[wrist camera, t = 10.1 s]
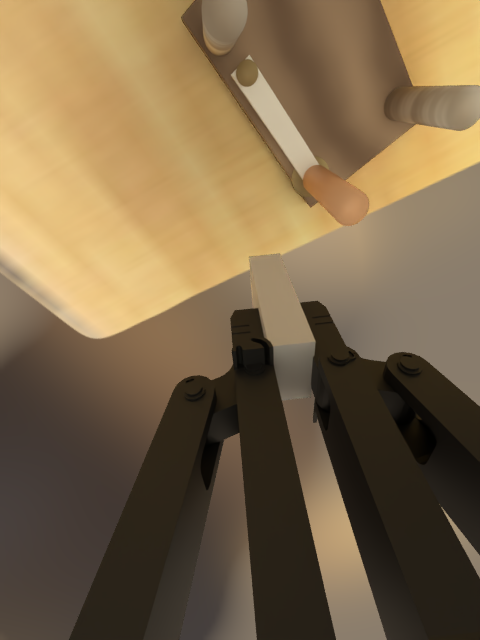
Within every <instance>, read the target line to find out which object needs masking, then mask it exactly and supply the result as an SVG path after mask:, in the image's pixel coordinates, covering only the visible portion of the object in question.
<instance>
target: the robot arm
mask: <svg viewBox="0 0 480 640" xmlns="http://www.w3.org/2000/svg"><path fill="white" fill-rule="evenodd" d="M249 262H250V277H251V292H252V305H253V309H244V310H235V311H234V313H233V315H232V316H231V318H230V319H231V331H232V343H233V348H232V356H233V366H232V368H231V369H230V370H229V371H228V372H227V373H226V374H225V375H223V376H221V377H219V378H216V379H214V380H210V379H208V378H207V377H204V376H200V375H199V376H191V377H188V378H185V379H183V380H182V381H181V382H179V383H178V384H177V386H176V387H175V389H174V391H173V393H172V395H171V398H170V400H169V403H168V405H167V407H166V409H165V412H164V415H163V417H162V419H161V422H160V424H159V427H158V429H157V431H156V434H155V436H154V438H153V440H152V443H151V446H150V448H149V450H148V452H147V455H146V457H145V460H144V462H143V464H142V467H141V469H140V471H139V474H138V476H137V479H136V481H135V483H134V486H133V488H132V491H131V493H130V495H129V498H128V500H127V502H126V505H125V507H124V510H123V512H122V515H121V517H120V519H119V522H118V524H117V526H116V529H115V532H114V533H113V536H112V538H111V541H110V543H109V545H108V548H107V550H106V553H105V555H104V557H103V560H102V562H101V564H100V567H99V569H98V572H97V574H96V577H95V579H94V581H93V584H92V586H91V588H90V591H89V593H88V595H87V598H86V600H85V603H84V605H83V607H82V610H81V612H80V615H79V617H78V620H77V622H76V625H75V627H74V629H73V631H72V634H71V636H70V639H69V640H179V638H180V634H181V629H182V625H183V620H184V616H185V611H186V606H187V602H188V598H189V594H190V589H191V584H192V580H193V576H194V571H195V567H196V562H197V558H198V553H199V549H200V545H201V540H202V536H203V531H204V527H205V522H206V518H207V513H208V509H209V504H210V500H211V495H212V491H213V486H214V482H215V478H216V473H217V469H218V464H219V460H220V455H221V451H222V446H223V442H224V439H226V438H228V437H230V436H233V435H235V434H237V433H240V443H241V444H240V445H241V457H242V468H243V480H244V492H245V504H246V516H247V527H248V539H249V550H250V563H251V574H252V587H253V597H254V609H255V622H256V633H257V640H336V637H335V633H334V629H333V624H332V620H331V615H330V611H329V607H328V602H327V598H326V593H325V589H324V584H323V580H322V576H321V571H320V567H319V562H318V558H317V554H316V549H315V545H314V540H313V536H312V532H311V527H310V523H309V518H308V514H307V510H306V505H305V501H304V497H303V492H302V488H301V483H300V479H299V474H298V470H297V466H296V461H295V457H294V452H293V448H292V444H291V439H290V435H289V430H288V426H287V421H286V417H285V413H284V408H283V404H282V400H290V399H298V398H308V397H311V389H312V391H313V394H314V397H315V403H314V413H313V422H314V423H315V422H316V421H317V419H318V421H319V425H320V428H321V431H322V434H323V438H324V441H325V444H326V447H327V450H328V454H329V456H330V460H331V463H332V466H333V469H334V473H335V476H336V479H337V482H338V485H339V489H340V491H341V495H342V498H343V501H344V504H345V508H346V511H347V514H348V517H349V520H350V523H351V527H352V530H353V533H354V536H355V539H356V542H357V546H358V549H359V552H360V555H361V558H362V562H363V564H364V568H365V571H366V574H367V577H368V581H369V584H370V587H371V590H372V593H373V597H374V600H375V603H376V606H377V609H378V612H379V616H380V619H381V622H382V625H383V628H384V632H385V635H386V638H387V640H480V578H479V576H478V575H477V573H476V571H475V569H474V567H473V565H472V563H471V562H470V560H469V558H468V556H467V554H466V552H465V550H464V549H463V547H462V545H461V543H460V541H459V539H458V538H457V536H456V534H455V532H454V530H453V528H452V526H451V525H450V523H449V521H448V519H447V517H446V515H445V514H444V512H443V510H442V508H443V509H444V510H445V511H446V513H447V514H448V515H449V517H450V518H451V519H452V521H453V522H454V523H455V524H456V525H457V527H458V528H459V529H460V531H461V532H462V533H463V534H464V536H465V537H466V538H467V539H468V541H469V542H470V543H471V545H472V546H473V547H474V548H475V550H476V551H477V552H478V554H479V555H480V406H478V405H477V404H476V403H475V402H474V401H472V400H471V399H470V398H469V397H468V396H467V395H466V394H465V393H463V392H462V391H461V390H460V389H459V388H458V387H456V386H455V385H454V384H453V383H452V382H451V381H449V380H448V379H447V378H446V377H445V376H444V375H442V374H441V373H440V372H439V371H438V370H437V369H435V368H434V367H433V366H432V365H431V364H430V363H428V362H427V361H426V360H424V359H423V358H421V357H420V356H417V355H415V354H412V353H406V352H399V353H394V354H392V355H390V356H389V357H388V359H387V361H386V362H381V361H374V360H368V359H363V358H361V357H360V356H359V355H358V354H357V353H356V352H355V351H354V350H353V349H351V348H349V347H347V346H346V345H345V343H344V341H343V339H342V338H341V335H340V334H339V331H338V329H337V328H336V326H335V324H334V323H333V320H332V318H331V317H330V314H329V312H328V310H327V308H326V307H325V306H324V305H322V304H321V303H320V302H318V301H311V302H302V303H300V302H299V300H298V297H297V295H296V292H295V290H294V287H293V285H292V282H291V280H290V277H289V275H288V273H287V270H286V267H285V265H284V263H283V260H282V258H281V255H280V254H271V255H261V256H251V257H249ZM440 505H441V506H440ZM441 507H442V508H441Z"/></svg>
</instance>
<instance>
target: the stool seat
mask: <svg viewBox="0 0 480 640" xmlns="http://www.w3.org/2000/svg"><path fill="white" fill-rule="evenodd" d="M181 18H182V21H183V23H184V24H185V26H186V27H187V29H188V30H189V32H190V33H191V35H192V36H193V38H194V39H195V41H196V42H197V43H198V45H199V46H200V48H201V49H202V51H203V52H204V54H205V55H206V57H207V58H208V60H209V61H210V62H211V64H212V65H213V67H214V68H215V70H216V71H217V73H218V74H219V76H220V77H221V79H222V80H223V81H224V83H225V84H226V86H227V87H228V89H229V90H230V92H231V93H232V95H233V96H234V98H235V99H236V100H237V102H238V103H239V105H240V106H241V108H242V109H243V111H244V112H245V114H246V115H247V117H248V118H249V119H250V121H251V122H252V124H253V125H254V127H255V128H256V130H257V131H258V133H259V134H260V136H261V137H262V138H263V140H264V141H265V143H266V144H267V146H268V147H269V149H270V150H271V152H272V153H273V155H274V156H275V158H276V159H277V160H278V162H279V163H280V165H281V166H282V168H283V169H284V171H285V172H286V174H287V175H288V177H289V178H290V179H291V181H292V185H293V188H294V189H295V191H296V192H297V193H298V194H300V195H301V196H302V197H303V198H304V200H305V201H306V203H307V204H308V205H309V206H310V207H312V206H313V205H315V204H316V203H317V202H318V201H317V200H316V199H315V198H314V197H313V196H312V195H311V194H310V193H309V192H308V191H307V190H306V189H305V188H304V186H303V180H302V179H301V177H300V176H299V174H298V173H297V171H296V170H295V168H294V167H293V165H292V164H291V162H290V161H289V160H288V158H287V157H286V155H285V154H284V152H283V151H282V149H281V148H280V146H279V145H278V144H277V142H276V141H275V139H274V138H273V136H272V135H271V133H270V132H269V130H268V129H267V127H266V126H265V125H264V123H263V122H262V120H261V119H260V117H259V116H258V114H257V113H256V111H255V110H254V108H253V107H252V106H251V104H250V103H249V101H248V100H247V98H246V97H245V95H244V94H243V92H242V91H241V90H240V88H239V87H238V85H237V84H236V82H235V81H234V79H233V78H232V76H231V74H232V73H233V72H234V71H235V70H236V69H237V70H236V77H237V80H238V82H239V83H240V84H241V85H242V86H245V87H249V86H252V85H253V84H254V83H255V82H256V80H257V78H258V69H259V70H260V72H261V74H262V75H263V77H264V78H265V80H266V81H267V83H268V85H269V86H270V88H271V89H272V91H273V92H274V94H275V96H276V97H277V99H278V100H279V102H280V104H281V105H282V107H283V108H284V110H285V111H286V113H287V115H288V116H289V118H290V119H291V121H292V122H293V124H294V126H295V127H296V129H297V130H298V132H299V133H300V135H301V137H302V138H303V140H304V141H305V143H306V145H307V146H308V148H309V149H310V151H311V152H312V154H313V156H314V157H315V159H316V160H317V162H318V163H319V165H322V166H324V167H325V168H327V169H328V170H330V171H331V172H333V173H334V174H336V175H337V176H339V177H341V178H342V179H344V180H346V179H347V178H349V177H350V176H351V175H352V174H354V173H355V172H356V171H357V170H359V169H360V168H361V167H362V166H364V165H365V164H366V163H367V162H369V161H370V160H371V159H372V158H374V157H375V156H376V155H378V154H379V153H380V152H381V151H383V150H384V149H385V148H386V147H388V146H389V145H390V144H391V143H393V142H394V141H395V140H396V139H398V138H399V137H400V136H401V135H403V134H404V133H405V132H406V131H408V130H409V129H410V128H411V127H413V126H414V125H415V124H419V125H425V126H431V127H438V128H444V129H450V130H456V131H462V130H465V129H468V128H469V127H471V126H472V125H474V124H475V123H476V122H477V121H478V120H479V118H480V86H478V85H460V86H413V85H412V83H411V80H410V78H409V75H408V72H407V70H406V67H405V64H404V62H403V59H402V57H401V54H400V51H399V49H398V46H397V43H396V41H395V38H394V35H393V33H392V30H391V28H390V25H389V22H388V20H387V17H386V14H385V12H384V9H383V7H382V4H381V1H380V0H195V1H194V2H193V3H192V5H191V6H190V7H189V8H188V9H187V11H186V12H185V13H184V14H183V15H182V17H181ZM249 55H250V56H251V58H252V59H253V61H254V62H253V61H252V60H250V59H246V58H247V57H248V56H249ZM245 59H246V60H245ZM257 67H258V68H257Z"/></svg>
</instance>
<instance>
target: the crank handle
mask: <svg viewBox="0 0 480 640" xmlns="http://www.w3.org/2000/svg"><path fill="white" fill-rule="evenodd" d="M246 59H250V60H252V61H253V59H252V58H251V56H250V55H249V56H248V57H247V58H246ZM246 59H245V60H246ZM253 62H254V61H253ZM257 68H258V67H257ZM236 70H237V69H236ZM236 70H235V71H234V72H233V73H232V74H231V76H232V78H233V79H234V81H235V82H236V84H237V85H238V87H239V88H240V90H241V91H242V92H243V94H244V95H245V97H246V98H247V100H248V101H249V103H250V104H251V106H252V107H253V108H254V110H255V111H256V113H257V114H258V116H259V117H260V119H261V120H262V122H263V123H264V125H265V126H266V127H267V129H268V130H269V132H270V133H271V135H272V136H273V138H274V139H275V141H276V142H277V144H278V145H279V146H280V148H281V149H282V151H283V152H284V154H285V155H286V157H287V158H288V160H289V161H290V162H291V164H292V165H293V167H294V168H295V170H296V171H297V173H298V174H299V176H300V177H301V179H302V180H303V186H304V188H305V189H306V190H307V191H308V192H309V193H310V194H311V195H312V196H313V197H314V198H315V199H316V200H317V201H318V202H319V203H320V204H321V205H322V206H323V207H324V208H325V209H326V210H327V211H328V212H329V213H330V214H331V215H332V216H333V217H334V218H335V219H336V220H337V221H338V222H339V223H340V224H342V225H345V226H351V225H354V224H357V223H358V222H360V221H361V220H362V219H363V218H364V217H365V215H366V214H367V212H368V209H369V199H368V197H367V195H366V194H365V193H363V192H362V191H360V190H359V189H357V188H356V187H354V186H353V185H351V184H350V183H348V182H347V181H345V180H344V179H342V178H341V177H339V176H337V175H336V174H334V173H333V172H331V171H330V170H328V169H327V168H325V167H324V166H322V165H319V163H318V162H317V160H316V159H315V157H314V156H313V154H312V152H311V151H310V149H309V148H308V146H307V145H306V143H305V141H304V140H303V138H302V137H301V135H300V133H299V132H298V130H297V129H296V127H295V126H294V124H293V122H292V121H291V119H290V118H289V116H288V115H287V113H286V111H285V110H284V108H283V107H282V105H281V104H280V102H279V100H278V99H277V97H276V96H275V94H274V92H273V91H272V89H271V88H270V86H269V85H268V83H267V81H266V80H265V78H264V77H263V75H262V74H261V72H260V70H259V69H258V78H257V80H256V82H255V83H254V84H253V85H252V86H249V87H245V86H242V85H241V84H240V83H239V82H238V80H237V77H236Z"/></svg>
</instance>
